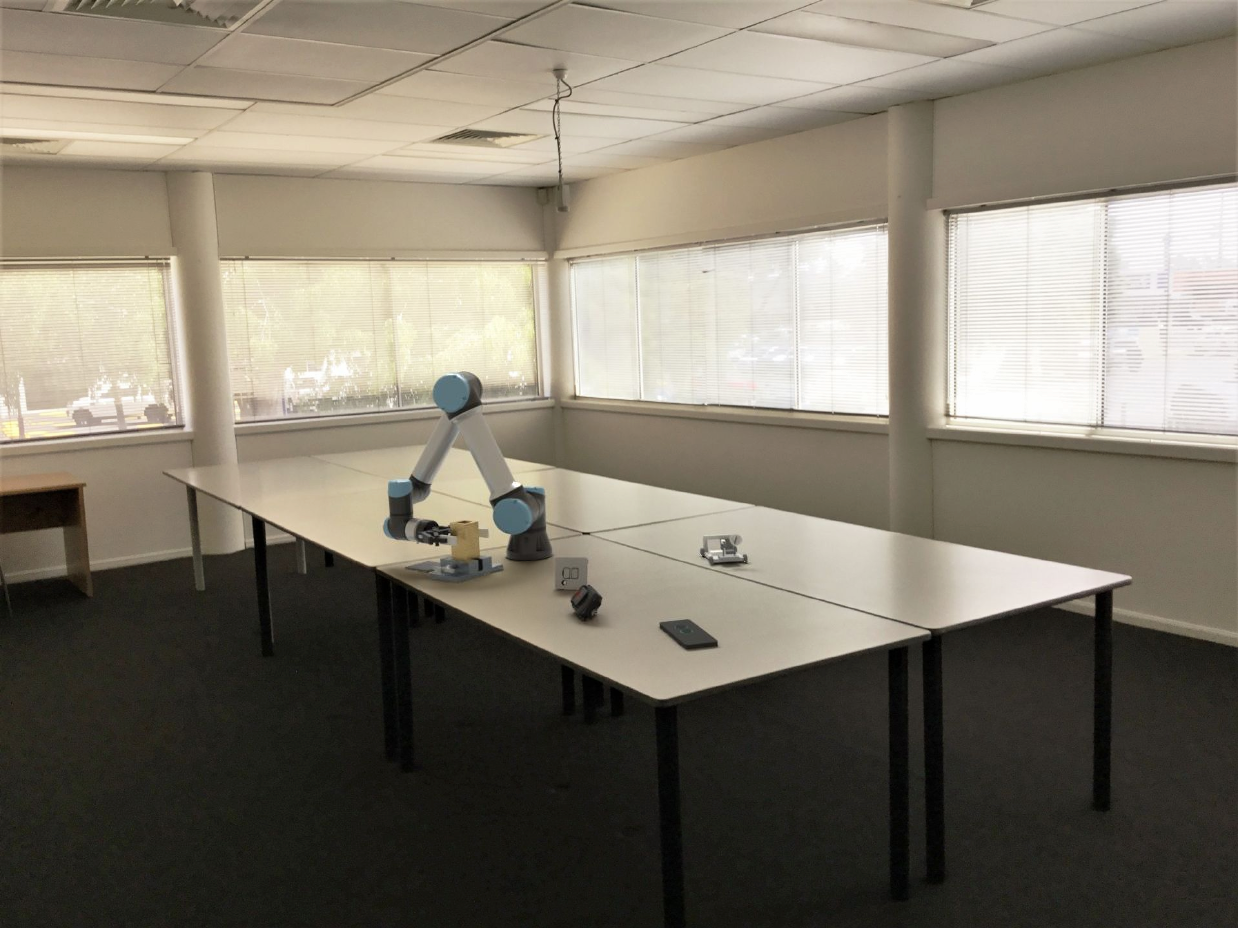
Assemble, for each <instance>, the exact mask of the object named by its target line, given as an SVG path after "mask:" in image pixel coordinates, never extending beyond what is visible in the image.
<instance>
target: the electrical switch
mask: <svg viewBox="0 0 1238 928" xmlns="http://www.w3.org/2000/svg"><path fill="white" fill-rule="evenodd" d="M588 564H589V559H588V557H585V556H557V557H556V558H555V575H554V577H555V579H554V580H555V581H554V588H555V590H557V589H564V590H566V591H578V589H579V588H580V587H581V586H582V585H586V586H587V585H588V575H589V574H588V567H589V565H588ZM564 590H563V591H564Z"/></svg>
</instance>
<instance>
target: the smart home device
mask: <svg viewBox="0 0 1238 928" xmlns="http://www.w3.org/2000/svg"><path fill="white" fill-rule="evenodd" d="M659 628H660V630H662V631H663V632H664V633H665V634H666V635H668V636H669V637H670V638H672V639H673V641H675V642H676V643H677V644H678V645H680V647H682V649H685V650H686V651H687V650H696V649H706V648H713V647H718V646H719V645H718V644H719V641H718V640H717V639H716V637H714V636H713V635H711V634H709V632H708V631H706V630H705V629H703V628H702V627H700V626H699V625H698V624H697V623H695V622H694V621H693V620H691V619H688V618H686V619H685V618H684V619H679V620H678V619H677V620H670V621H669V620H668V621H660V622H659Z"/></svg>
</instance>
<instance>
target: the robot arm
mask: <svg viewBox="0 0 1238 928" xmlns="http://www.w3.org/2000/svg"><path fill="white" fill-rule="evenodd" d="M483 393H484V387H483V384H482V381H481V380H480V378H479V377H478V376H477V375H476V374H474V373H472V372H470V371H459V372H448V373H446V374H444V375H442V376H440V377H439V378H438V379H437V380H436V382H435V383H434V386H433V389H432V399H433V402H434V404H435V405H436V406H437V408H439V409H440V410H441V411H443V412H442V415H440V418H439V420H438V422H437V424H436V426H435V428H434V430H433V432H432V433H431V435H430V437H429V439H428V441H427V443H426V445H425V447H424V449H423V451H422V453H421V454H420V456H419V458H418V461H417V462H416V464H415V466H414V467H413V470H412V471H411V474H410V476H409V477H408V479H407V478H396V479H391V480H390V481H389V482H388V483H387V495H388V508H389V516H387V517H386V518H385V519H384V522H383V525H382V530H383V533H384V535H385V536H386V537H387V538H389V539H391V540H392V539H393V540H396V541H403V542H404V541H406V542H412V543H416V544H417V545H419V544H420V543H421V544H427V545H429V546H433V545H434V546H435V547H440V545H446V546H457V537H455V536H451V532H450V524H449V525H447V526H444V525H439V523H438V522H437V521H436V520H433V519H427V518H419V517H418V518H417V517H414V505H416V504H417V503H418V504H419V503H422V502H424V501H425V500H426V499H427V498H428V497H429V496H430V494H431V489H432V488H431V487H432V485H433V482H434V481H435V478H436V477H437V476H438V475H437V474H438V473H439V471H440V470H441V467H442V466H443V464H444V462H445V460H446V458H447V456H448V455H449V452H450V450H451V449H452V447H453V445H454V443H455V441H456V439H457V437H458V435H459V434H461V436H462V438H463V440H464V443H465V444H466V447H467V448H468V450H469V453H470V454H471V457H472V459H473V460H474V462H475V464H476V466H477V468H478V471H479V473H480V475H481V476H482V479H483V481H484V483H485V484H486V486H487V489H488V490H489V493H490V494H489V498H488V501H489V504H490V506H491V508H492V510H493V511H492V520H493V522H494V525H495V526H496V528H497V529H498V530H499V531H501V532H502V533H504V534H507V535H509V538H508V541H507V542H508V543H507V547H506V550H505V555H506V556H505V557H506V558H507V559H510V560H514V561H536V560H542V559H547V558H550V557H552V556H553V553H554V552H553V546H552V543H551V541H550V538H549V534H548V532H547V511H546V491H545V488H544V487H543V486H537V485H536V486H535V485H533V486H528V485H527V486H523V485H524V484H523V483H521V482H518V481H516V480H515V478H514V476H513V474H512V472H511V470H510V468H509V466H508V464H507V462H506V460H505V457H504V456H503V453H502V451H501V449H500V448H499V445H498V444H497V441H496V439H495V436H494V435H493V432H492V431H491V428H490V427H489V425H488V423H487V421H486V419H485V417H484V415H483V413H482V411H483V408H484V404H483V402H482V398H483ZM479 538H485V539H488V538H490V535H489V528H484V527H479Z"/></svg>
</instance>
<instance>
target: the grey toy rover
mask: <svg viewBox="0 0 1238 928" xmlns="http://www.w3.org/2000/svg"><path fill="white" fill-rule="evenodd" d="M742 543H743V538H742V536H741V535H739V534H738V533H737V534H736V533H734V534H733V533H728V534H727V533H726V534H708V535H707V534H705V535H702V547H701V548H699V549H700V550H699V553H700V554H701V555H702V556H704V557H706V558H707V560H708V562H709V563H710V564H711V565H710V564H709V563H708V564H709V565H710V566H714V564H715V563H716V564H717V563H730V562H731V563H732V562H743V561H745V562H747V563H748V560H749V559H748V555H747V554H746V553H743V554H740V553H739V552H738V548H737V546H739V545H741V544H742ZM700 554H699V555H700Z"/></svg>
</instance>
